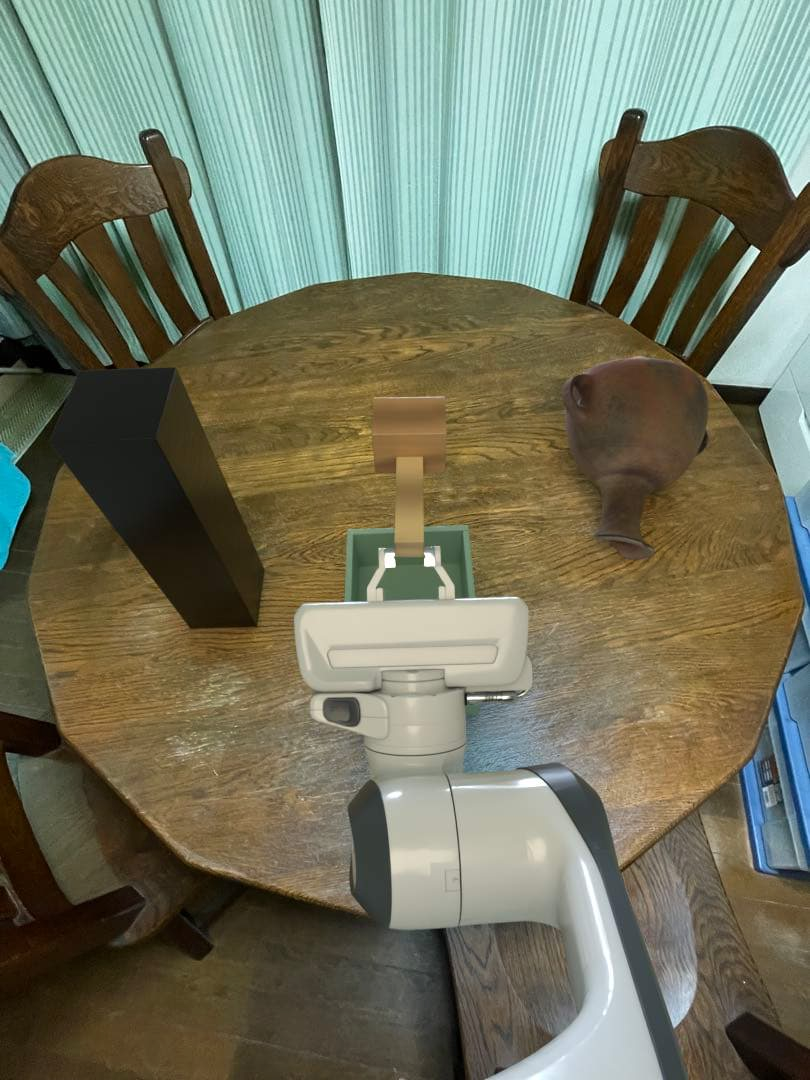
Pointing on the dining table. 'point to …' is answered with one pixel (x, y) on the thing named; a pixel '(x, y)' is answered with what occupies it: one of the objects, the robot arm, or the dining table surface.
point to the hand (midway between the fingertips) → (409, 547)
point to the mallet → (409, 459)
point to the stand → (162, 491)
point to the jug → (634, 437)
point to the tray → (409, 568)
